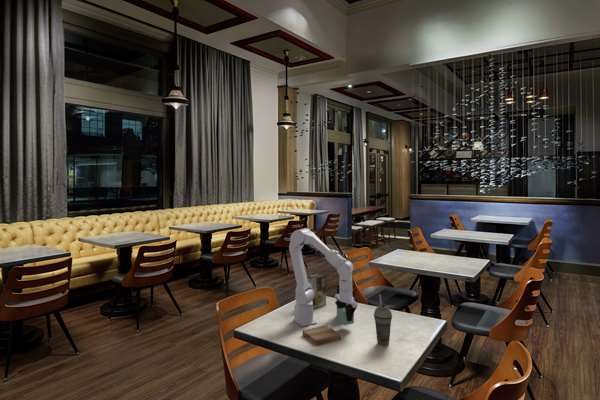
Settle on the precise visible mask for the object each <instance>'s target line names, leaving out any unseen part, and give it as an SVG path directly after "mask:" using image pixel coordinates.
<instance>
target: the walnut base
mask: <svg viewBox="0 0 600 400" xmlns="http://www.w3.org/2000/svg"><path fill="white" fill-rule="evenodd" d="M302 336H303V337H305V338H306V339H307V340H308V341H310V342H311V343H313V344H314V345H315V346H319V345H320V346H321V345H324V344H328V343H331V342H336V341H341V340H342V339H343V338H342V334H341V333H340V332H338V331H336V330H335V329H334V328H331V327H330V326H328V325H327V324H325V325H321V326H316V327H312V328H308V329H303V330H302Z"/></svg>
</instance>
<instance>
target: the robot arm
mask: <svg viewBox="0 0 600 400" xmlns="http://www.w3.org/2000/svg"><path fill="white" fill-rule="evenodd" d="M289 238H290V242H289V245H288V249H289V255H290V258H291V264H292V267H293V273H294V277H295V282H296V285H295V286H296V287H295V291H294V292H295V297H294V300H295V305H294V318H293V319H292V321H293V322H295V323H296V324H298V325H299V326H301V327H306V326H310V325H315V324H317V323H318V322H317V321H316V320H314V308H313V299H314V297H315V292H314V290H313V289H312V287H311V284H310V283H309V282H308V279H307V276H308V275H307V272H306V271H307V270H306V266H305V263H304V258H303V254H302V252H303V251H302V248H303V247H304V245H311V246H313V247H314V248H316V249H317V250H318V251H320V253H322V255H324V256H325V260H326V261H327V262H328V263H329V264H331V266H333V268H335V270H336V271H337V274H338V275H339V279H338V280H339V281H338V283H339V284H338V285H339V294H337V293H336V294H335V295H334V300H336V301H335V303H334V304H335V306H336V309H337V308H338V309H339V308H344V307H345V310H346V315H347V321H348V322H349V321H352V318H353V315H354V316H355V311H356V310H357V308H358V302H356V300H355V297H354V296H353V271H354V268H355V267H354V264H353V263H352V261H351V260H347V259H346V258H344V257H343V256H342V255H341V254H339V251H338V250H335V249H330V248H329V247H328V246H327V245H326V244H325V243H324V242H323V241H322V240H321V239H320V238H319V237H318V236H317V235H316V233H315V232H313V231H311V229H310V228H308V227H304V228H301V229H296V230H294V231H293V232H292V234H291V235H290V236H289ZM352 296H353V297H352ZM337 299H338V301H337ZM346 304H348V305H346Z"/></svg>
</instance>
